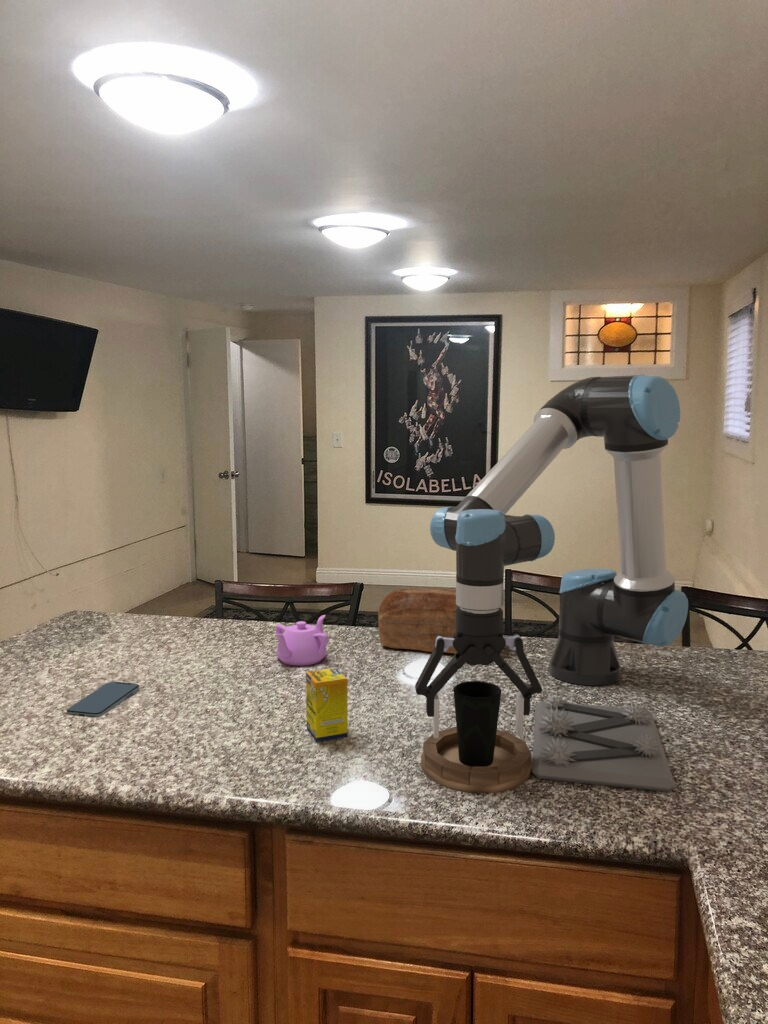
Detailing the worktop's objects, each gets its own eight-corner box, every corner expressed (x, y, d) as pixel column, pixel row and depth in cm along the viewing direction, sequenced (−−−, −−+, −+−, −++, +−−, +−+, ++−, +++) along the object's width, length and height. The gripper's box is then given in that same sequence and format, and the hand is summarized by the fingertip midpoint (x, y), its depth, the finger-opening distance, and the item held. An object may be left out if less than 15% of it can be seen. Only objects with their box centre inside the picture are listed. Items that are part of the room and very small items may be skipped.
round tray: (519, 741, 136) (520, 725, 135) (543, 792, 118) (543, 773, 117) (417, 742, 135) (417, 725, 135) (425, 793, 117) (425, 774, 117)
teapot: (325, 649, 187) (325, 613, 186) (329, 668, 173) (329, 630, 172) (275, 651, 185) (275, 615, 184) (275, 670, 171) (275, 632, 170)
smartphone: (63, 710, 147) (108, 680, 161) (64, 718, 147) (109, 688, 162) (99, 713, 145) (141, 683, 160) (99, 722, 146) (141, 691, 160)
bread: (489, 661, 178) (490, 601, 176) (373, 650, 186) (373, 592, 184) (496, 646, 190) (498, 589, 188) (387, 636, 198) (387, 581, 196)
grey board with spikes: (675, 798, 117) (678, 753, 116) (531, 783, 122) (532, 740, 121) (651, 720, 146) (653, 684, 145) (535, 710, 151) (536, 675, 150)
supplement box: (305, 729, 140) (305, 671, 139) (337, 724, 143) (336, 667, 141) (316, 742, 135) (315, 682, 133) (348, 737, 137) (348, 677, 136)
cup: (498, 772, 122) (499, 699, 120) (449, 768, 123) (451, 696, 122) (501, 751, 129) (502, 682, 128) (455, 747, 131) (456, 679, 129)
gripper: (551, 600, 127) (548, 723, 130) (399, 601, 126) (399, 725, 129) (563, 612, 119) (559, 743, 122) (401, 614, 119) (402, 745, 122)
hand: (477, 734), depth 126 cm, fingers open, 13 cm apart
